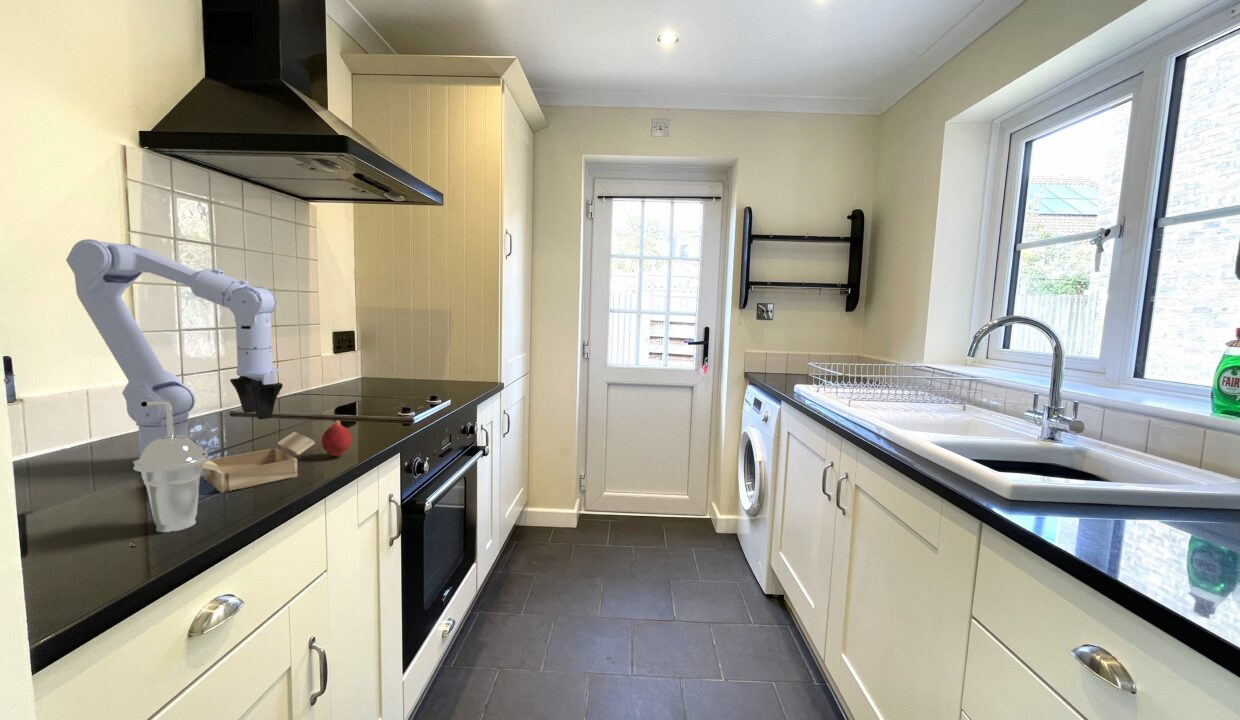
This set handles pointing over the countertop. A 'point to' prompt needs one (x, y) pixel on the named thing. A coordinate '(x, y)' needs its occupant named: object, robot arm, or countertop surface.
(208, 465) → the flap
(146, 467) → the cup with straw
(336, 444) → the red rounded oval piece
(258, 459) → the carton
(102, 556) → the countertop surface
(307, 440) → the flap
